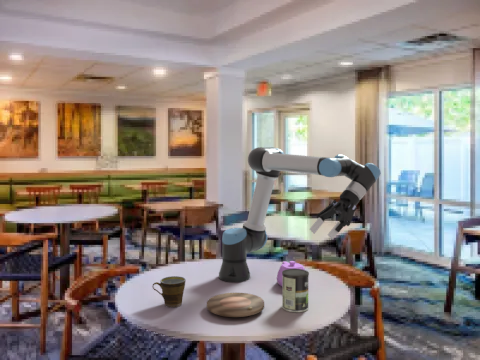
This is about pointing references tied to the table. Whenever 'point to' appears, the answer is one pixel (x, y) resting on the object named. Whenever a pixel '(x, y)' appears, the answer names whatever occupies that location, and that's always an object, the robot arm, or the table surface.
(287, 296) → the coffee can
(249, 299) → the turntable
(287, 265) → the teapot
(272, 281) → the table surface
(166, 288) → the ceramic cup
